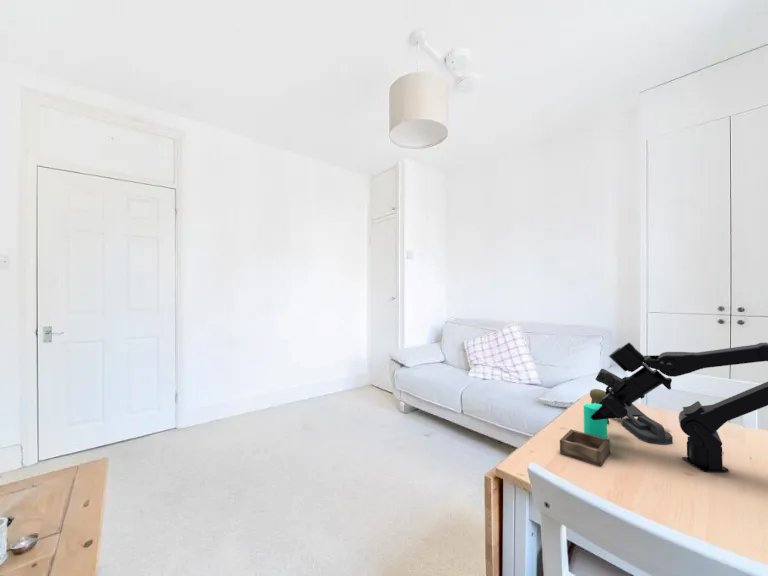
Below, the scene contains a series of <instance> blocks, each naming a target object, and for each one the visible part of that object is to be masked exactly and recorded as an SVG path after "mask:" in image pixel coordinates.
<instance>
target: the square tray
mask: <svg viewBox="0 0 768 576" xmlns="http://www.w3.org/2000/svg"><path fill="white" fill-rule="evenodd" d="M559 453H560V454H561V455H564V456H567V457H570V458H573V459H575V460H580V461H583V462H586V463H589V464H592V465H595V466H598V467H602V466H603V464H604V463H605V461H606V460H608V459H607V458H608V457H609V455H610V454H611V439H610V438H607V439H606V438H602V437H598V436H594V435H591V434H587V433H584V431H583V432H582V431H579V430H577V429H572V428H571V429H570V430H569V431H567V433H565V434H564V436H563V437H561V438H560V439H559Z"/></svg>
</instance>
